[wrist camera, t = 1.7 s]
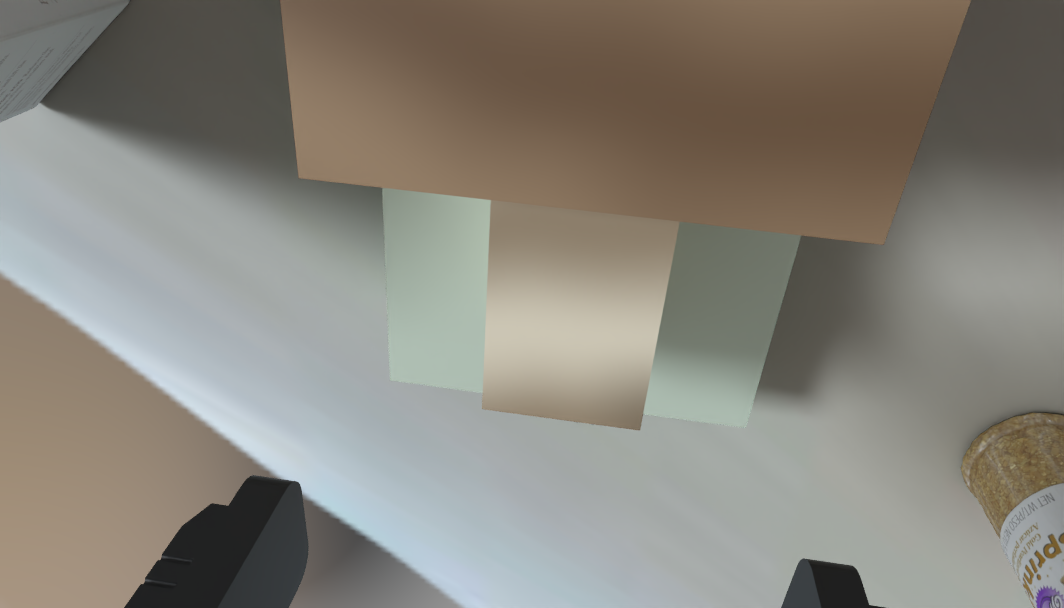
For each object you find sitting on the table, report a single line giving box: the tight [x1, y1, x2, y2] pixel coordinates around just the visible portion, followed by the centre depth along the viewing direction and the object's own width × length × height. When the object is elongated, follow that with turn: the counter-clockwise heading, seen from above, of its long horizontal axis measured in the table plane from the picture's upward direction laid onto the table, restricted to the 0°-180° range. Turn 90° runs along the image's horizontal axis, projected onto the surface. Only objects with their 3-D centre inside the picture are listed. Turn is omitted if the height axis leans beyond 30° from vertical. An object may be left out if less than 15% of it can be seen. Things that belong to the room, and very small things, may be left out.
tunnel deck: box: [280, 0, 971, 428], centre depth 17 cm, size 23×12×10 cm, turn 176°
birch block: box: [482, 200, 680, 430], centre depth 17 cm, size 12×4×5 cm, turn 176°
